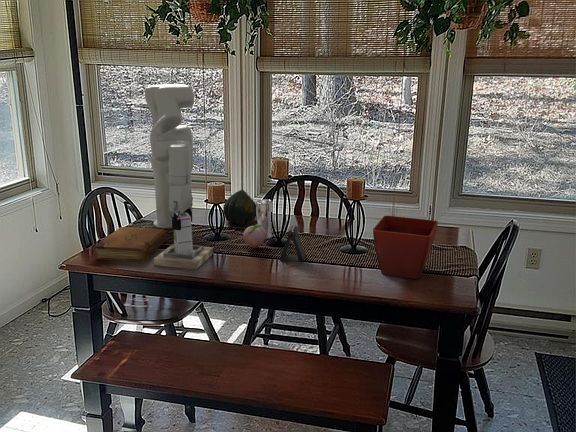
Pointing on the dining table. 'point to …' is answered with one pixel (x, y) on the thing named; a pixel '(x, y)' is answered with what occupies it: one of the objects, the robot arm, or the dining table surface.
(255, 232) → the decorative fruit
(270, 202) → the beer glass
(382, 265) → the plant pot
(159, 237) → the diary
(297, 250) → the phone stand
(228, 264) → the dining table surface
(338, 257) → the dining table surface
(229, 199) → the squash
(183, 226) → the syrup box
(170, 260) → the base plate
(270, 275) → the dining table surface
